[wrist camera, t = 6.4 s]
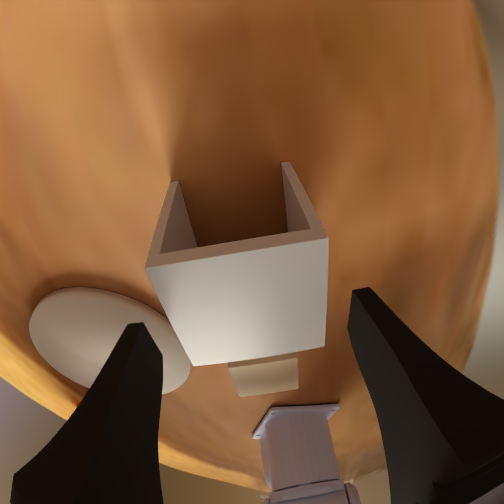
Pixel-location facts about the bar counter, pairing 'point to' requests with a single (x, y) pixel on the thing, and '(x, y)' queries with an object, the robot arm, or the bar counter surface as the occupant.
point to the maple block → (265, 374)
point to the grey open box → (243, 283)
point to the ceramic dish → (99, 333)
